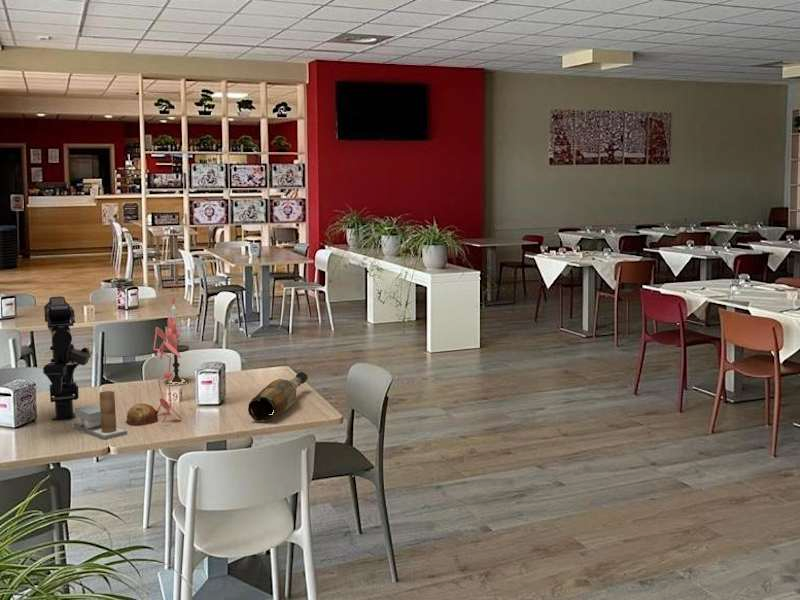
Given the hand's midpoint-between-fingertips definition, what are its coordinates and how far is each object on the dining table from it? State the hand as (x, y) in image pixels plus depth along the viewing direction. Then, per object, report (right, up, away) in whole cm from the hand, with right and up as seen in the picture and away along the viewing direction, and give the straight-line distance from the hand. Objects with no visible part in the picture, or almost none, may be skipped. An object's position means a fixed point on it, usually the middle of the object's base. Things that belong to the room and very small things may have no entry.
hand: (64, 389), depth 282 cm
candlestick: (+20, -4, +63) cm, 67 cm away
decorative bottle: (+68, -9, +27) cm, 74 cm away
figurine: (+34, -11, +15) cm, 39 cm away
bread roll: (+23, -12, +10) cm, 27 cm away
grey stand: (+12, -13, -2) cm, 18 cm away
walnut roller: (+17, -13, -6) cm, 22 cm away
